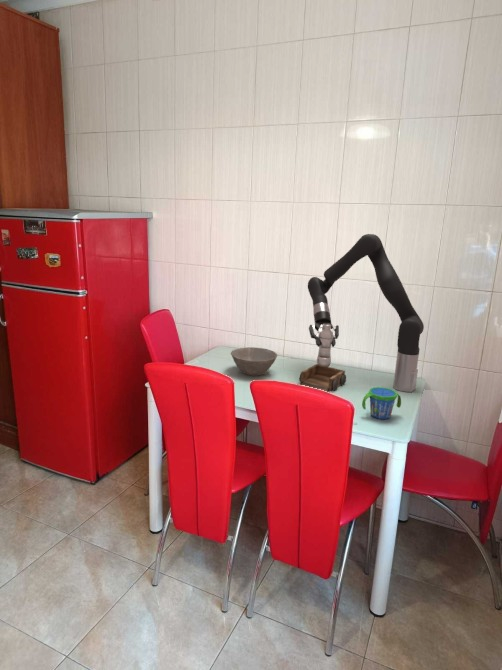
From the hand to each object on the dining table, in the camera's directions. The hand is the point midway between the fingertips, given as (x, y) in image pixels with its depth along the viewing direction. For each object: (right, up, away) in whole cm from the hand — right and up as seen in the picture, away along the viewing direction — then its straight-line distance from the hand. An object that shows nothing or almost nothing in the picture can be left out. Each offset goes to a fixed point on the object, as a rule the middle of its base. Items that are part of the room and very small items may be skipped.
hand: (326, 345), depth 209 cm
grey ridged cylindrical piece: (-1, -10, +4) cm, 11 cm away
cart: (-2, -18, +4) cm, 19 cm away
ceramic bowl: (-33, -14, +17) cm, 40 cm away
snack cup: (+17, -27, -27) cm, 42 cm away
